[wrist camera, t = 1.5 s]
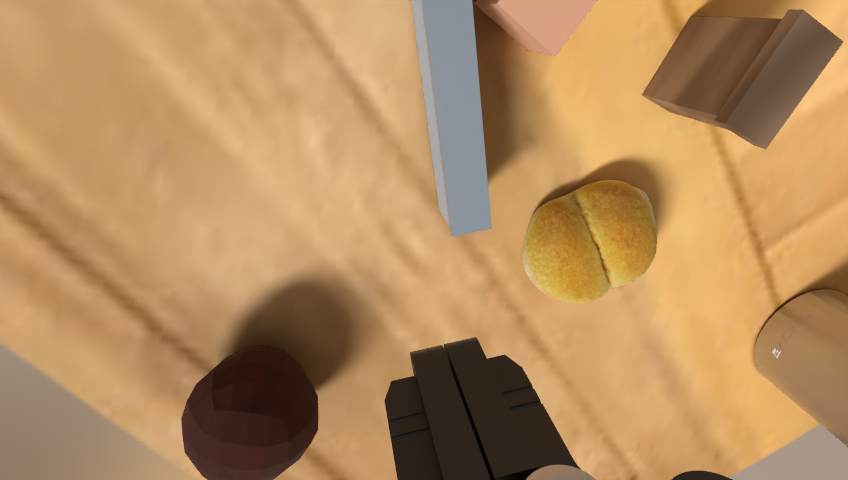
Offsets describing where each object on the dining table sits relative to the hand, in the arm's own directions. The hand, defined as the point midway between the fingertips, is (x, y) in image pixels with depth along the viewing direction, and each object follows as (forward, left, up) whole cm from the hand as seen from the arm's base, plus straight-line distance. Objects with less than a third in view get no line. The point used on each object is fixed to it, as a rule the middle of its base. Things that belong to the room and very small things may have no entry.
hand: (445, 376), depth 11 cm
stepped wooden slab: (-15, -12, -20) cm, 28 cm away
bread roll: (-16, 0, -21) cm, 26 cm away
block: (-4, -11, -21) cm, 24 cm away
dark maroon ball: (0, +18, -21) cm, 27 cm away
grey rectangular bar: (-2, -5, -20) cm, 21 cm away
